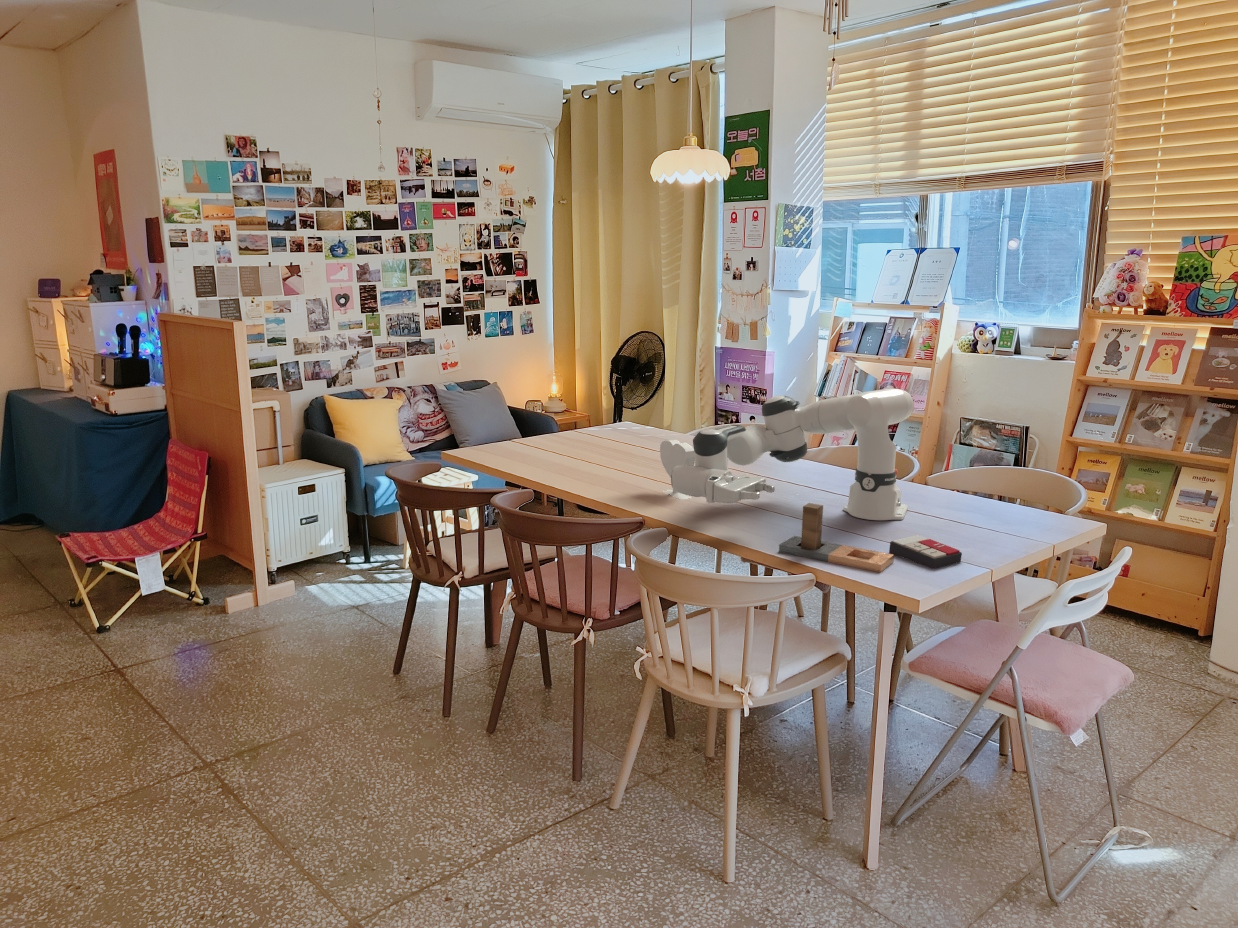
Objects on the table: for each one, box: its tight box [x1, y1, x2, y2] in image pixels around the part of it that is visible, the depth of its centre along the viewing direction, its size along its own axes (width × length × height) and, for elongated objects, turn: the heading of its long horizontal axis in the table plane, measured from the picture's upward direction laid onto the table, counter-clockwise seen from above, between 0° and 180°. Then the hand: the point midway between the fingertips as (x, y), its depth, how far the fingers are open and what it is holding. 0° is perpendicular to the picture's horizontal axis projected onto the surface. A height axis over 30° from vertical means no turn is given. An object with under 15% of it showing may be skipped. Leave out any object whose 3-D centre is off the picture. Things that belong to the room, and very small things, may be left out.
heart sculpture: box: [659, 439, 695, 500], centre depth 302 cm, size 16×5×18 cm, turn 31°
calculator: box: [888, 534, 963, 570], centre depth 241 cm, size 11×4×15 cm
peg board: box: [778, 535, 895, 573], centre depth 241 cm, size 10×28×2 cm, turn 55°
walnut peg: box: [800, 502, 824, 550], centre depth 244 cm, size 4×4×13 cm
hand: (766, 492), depth 249 cm, fingers open, 8 cm apart
